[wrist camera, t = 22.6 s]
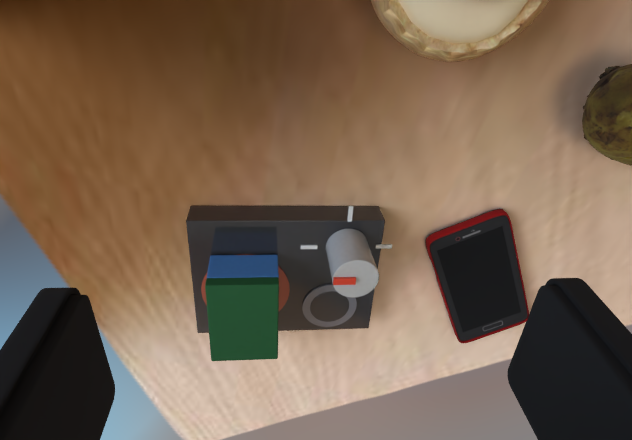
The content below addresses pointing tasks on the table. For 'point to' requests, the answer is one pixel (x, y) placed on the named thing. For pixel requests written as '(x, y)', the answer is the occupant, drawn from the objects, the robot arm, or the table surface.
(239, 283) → the sponge
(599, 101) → the potato
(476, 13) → the pastry
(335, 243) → the hob knob
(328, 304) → the burner rings
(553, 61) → the table surface
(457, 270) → the cell phone
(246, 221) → the hob
